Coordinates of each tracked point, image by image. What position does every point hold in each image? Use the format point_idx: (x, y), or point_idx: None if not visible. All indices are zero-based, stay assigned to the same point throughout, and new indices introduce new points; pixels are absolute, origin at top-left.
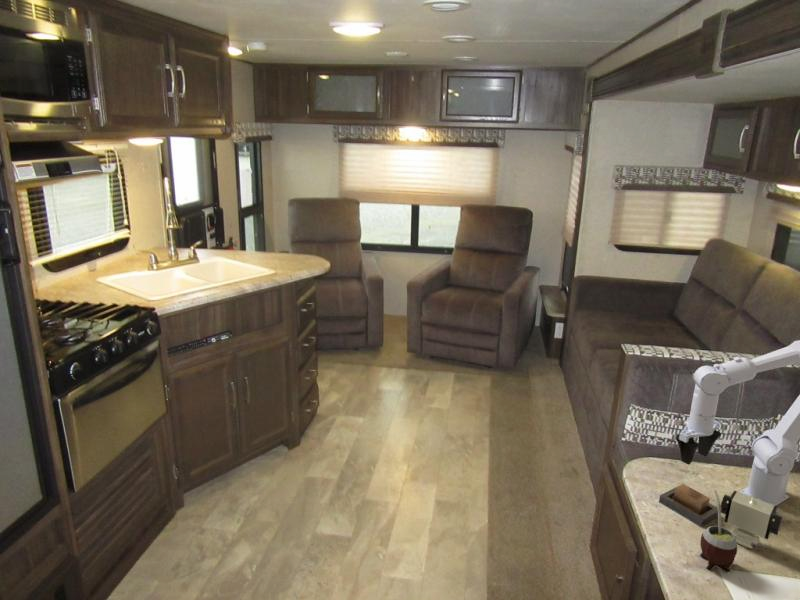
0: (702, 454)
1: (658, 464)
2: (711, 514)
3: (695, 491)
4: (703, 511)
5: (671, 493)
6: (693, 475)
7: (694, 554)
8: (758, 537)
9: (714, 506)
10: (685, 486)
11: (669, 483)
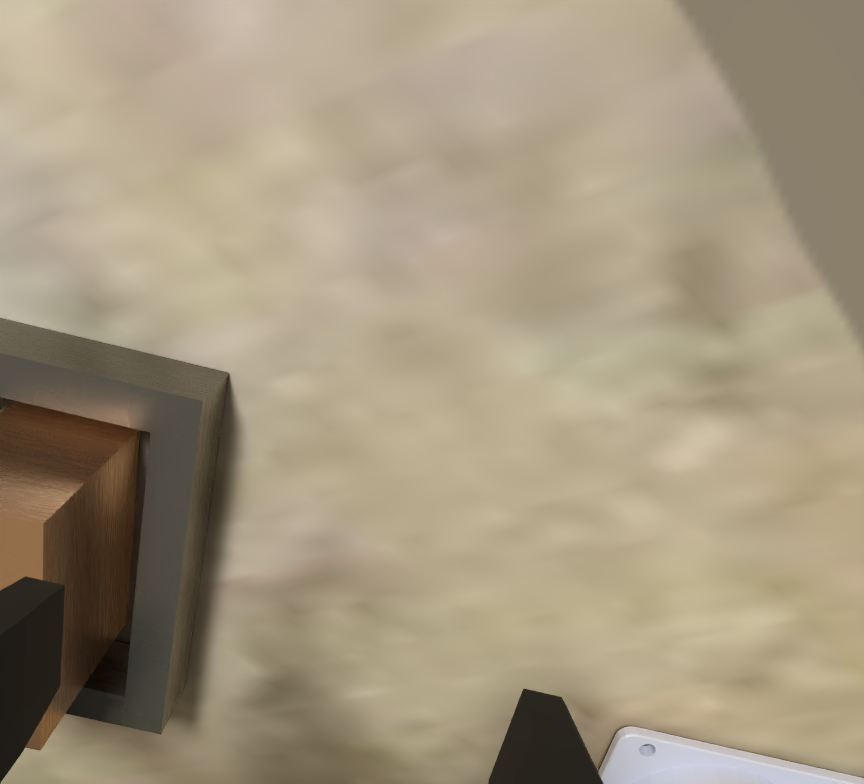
0: (501, 751)
1: (646, 3)
2: None
3: None
4: None
5: (18, 394)
6: (666, 389)
7: None
8: None
9: (162, 696)
10: (17, 553)
11: (327, 262)
